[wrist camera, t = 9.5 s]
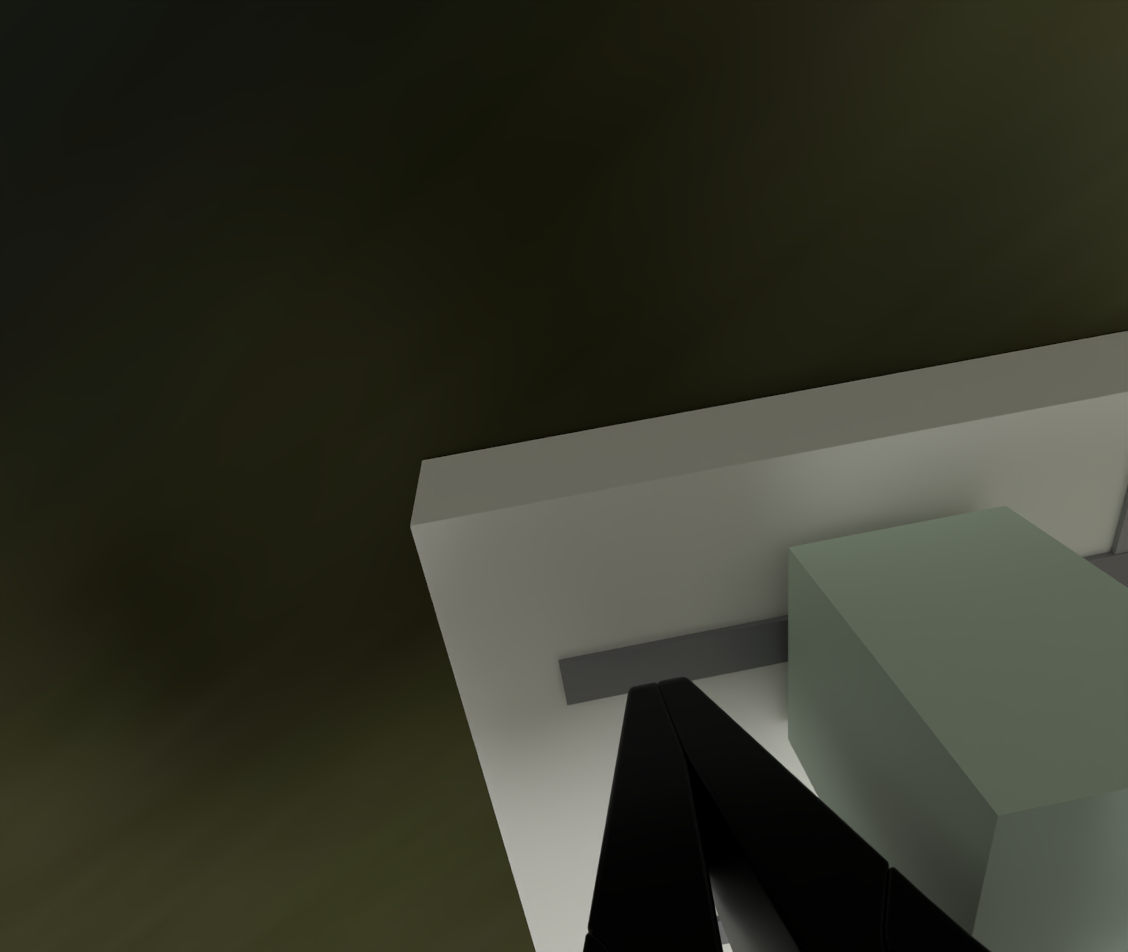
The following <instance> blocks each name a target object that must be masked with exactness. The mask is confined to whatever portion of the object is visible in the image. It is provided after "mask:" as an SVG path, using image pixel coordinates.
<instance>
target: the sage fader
mask: <svg viewBox="0 0 1128 952" xmlns="http://www.w3.org/2000/svg"><path fill="white" fill-rule="evenodd" d="M788 740H789V742H790V744H791V746H792V748H793V750H794V752H795V754H796V755H797V757H798V759H799V761H800V763H801V765H802V767H803V769H804V771H805V773H806V774H807V776H808V778H809V780H810V782H811V784H812V786H813V788H814V790H815V792H816V794H817V795H818V797H819V799H821V800H822V801H823V802H824V803H825V804H826V805H827V806H828V807H829V808H830V809H831V810H833V811H834V812H835V813H836V814H837V815H838V816H839V817H840V818H841V819H842V820H843V821H844V822H846V823H847V824H848V825H849V826H850V827H851V828H852V829H853V830H854V831H855V832H856V833H858V834H859V835H860V836H861V837H862V838H863V839H864V840H865V841H866V842H867V843H868V844H870V845H871V846H872V847H873V848H874V849H875V850H876V851H877V852H878V853H879V854H880V855H882V856H883V857H884V858H885V859H886V860H887V861H888V863H889V868H891V867H895V868H896V869H897V870H898V871H899V872H900V873H902V874H903V875H904V876H905V877H906V878H907V879H908V880H909V881H910V882H911V883H912V884H913V885H915V886H916V887H917V888H918V889H919V890H920V891H921V892H922V893H923V894H924V895H925V896H927V897H928V898H929V899H930V900H931V901H932V902H933V903H935V904H936V905H937V906H938V907H939V908H940V909H941V910H943V911H944V912H945V913H946V914H947V915H948V916H949V917H951V918H952V919H953V920H954V921H955V922H956V923H957V924H959V925H960V926H961V927H962V928H963V929H964V930H965V931H967V932H968V933H969V934H970V935H971V936H972V937H974V938H975V939H976V940H977V941H979V942H980V943H981V944H982V945H984V946H985V947H986V948H988V949H989V950H990V951H991V952H1128V588H1127V587H1126V586H1124V585H1123V584H1121V583H1120V582H1118V581H1117V580H1115V579H1114V578H1113V577H1111V576H1110V575H1108V574H1107V573H1105V572H1104V571H1102V570H1101V569H1099V568H1098V567H1096V566H1095V565H1093V564H1092V563H1090V562H1089V561H1087V560H1086V559H1084V558H1083V557H1081V556H1080V555H1078V554H1077V553H1075V552H1074V551H1072V550H1071V549H1069V548H1068V547H1066V546H1065V545H1063V544H1062V543H1060V542H1059V541H1057V540H1056V539H1054V538H1053V537H1052V536H1050V535H1049V534H1047V533H1046V532H1044V531H1043V530H1041V529H1040V528H1038V527H1037V526H1035V525H1034V524H1032V523H1031V522H1029V521H1028V520H1026V519H1025V518H1023V517H1022V516H1020V515H1019V514H1017V513H1016V512H1014V511H1013V510H1011V509H1010V508H1008V507H1007V506H1001V507H995V508H990V509H985V510H980V511H975V512H969V513H964V514H959V515H954V516H949V517H943V518H938V519H933V520H928V521H923V522H917V523H912V524H907V525H902V526H897V527H891V528H886V529H881V530H876V531H871V532H865V533H860V534H855V535H850V536H845V537H839V538H834V539H829V540H824V541H819V542H813V543H808V544H803V545H798V546H793V547H788Z"/></svg>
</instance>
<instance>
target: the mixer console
mask: <svg viewBox="0 0 1128 952" xmlns="http://www.w3.org/2000/svg"><path fill="white" fill-rule="evenodd" d="M1001 506H1007V507H1008V508H1010V509H1011V510H1013V511H1014V512H1016V513H1017V514H1019V515H1020V516H1022V517H1023V518H1025V519H1026V520H1028V521H1029V522H1031V523H1032V524H1034V525H1035V526H1037V527H1038V528H1040V529H1041V530H1043V531H1044V532H1046V533H1047V534H1049V535H1050V536H1052V537H1053V538H1054V539H1056V540H1057V541H1059V542H1060V543H1062V544H1063V545H1065V546H1066V547H1068V548H1069V549H1071V550H1072V551H1074V552H1075V553H1077V554H1078V555H1080V556H1081V557H1083V558H1084V559H1086V560H1087V561H1089V562H1090V563H1092V564H1093V565H1095V566H1096V567H1098V568H1099V569H1101V570H1102V571H1104V572H1105V573H1107V574H1108V575H1110V576H1111V577H1113V578H1114V579H1115V580H1117V581H1118V582H1120V583H1121V584H1123V585H1124V586H1126V587H1127V588H1128V331H1124V332H1119V333H1113V334H1108V335H1102V336H1097V337H1091V338H1086V339H1081V340H1075V341H1070V342H1064V343H1059V344H1053V345H1048V346H1042V347H1037V348H1032V349H1026V350H1021V351H1015V352H1010V353H1004V354H999V355H993V356H988V357H983V358H977V359H972V360H966V361H961V362H955V363H950V364H945V365H939V366H934V367H928V368H923V369H917V370H912V371H906V372H901V373H896V374H890V375H885V376H879V377H874V378H868V379H863V380H857V381H852V382H847V383H841V384H836V385H830V386H825V387H819V388H814V389H808V390H803V391H798V392H792V393H787V394H781V395H776V396H770V397H765V398H759V399H754V400H749V401H743V402H738V403H732V404H727V405H721V406H716V407H711V408H705V409H700V410H694V411H689V412H683V413H678V414H672V415H667V416H662V417H656V418H651V419H645V420H640V421H634V422H629V423H623V424H618V425H613V426H607V427H602V428H596V429H591V430H585V431H580V432H574V433H569V434H564V435H558V436H553V437H547V438H542V439H536V440H531V441H526V442H520V443H515V444H509V445H504V446H498V447H493V448H487V449H482V450H477V451H471V452H466V453H460V454H455V455H449V456H444V457H438V458H433V459H428V460H422V464H421V470H420V475H419V481H418V486H417V491H416V497H415V502H414V508H413V513H412V518H411V524H410V528H411V531H412V534H413V538H414V541H415V545H416V548H417V551H418V555H419V558H420V561H421V565H422V568H423V572H424V575H425V578H426V582H427V585H428V588H429V592H430V595H431V599H432V602H433V605H434V609H435V612H436V616H437V619H438V622H439V626H440V629H441V632H442V636H443V639H444V643H445V646H446V649H447V653H448V656H449V659H450V663H451V666H452V670H453V673H454V676H455V680H456V683H457V686H458V690H459V693H460V697H461V700H462V703H463V707H464V710H465V714H466V717H467V720H468V724H469V727H470V730H471V734H472V737H473V741H474V744H475V747H476V751H477V754H478V757H479V761H480V764H481V768H482V771H483V774H484V778H485V781H486V784H487V788H488V791H489V795H490V798H491V801H492V805H493V808H494V812H495V815H496V818H497V822H498V825H499V828H500V832H501V835H502V839H503V842H504V845H505V849H506V852H507V855H508V859H509V862H510V866H511V869H512V872H513V876H514V879H515V882H516V886H517V889H518V893H519V896H520V899H521V903H522V906H523V910H524V913H525V916H526V920H527V923H528V926H529V930H530V933H531V937H532V940H533V943H534V947H535V950H536V952H583V948H584V942H585V936H586V934H587V933H588V921H589V915H590V910H591V904H592V898H593V892H594V886H595V881H596V875H597V869H598V863H599V857H600V851H601V846H602V840H603V834H604V828H605V822H606V817H607V811H608V805H609V799H610V793H611V788H612V782H613V776H614V770H615V764H616V759H617V753H618V747H619V741H620V735H621V730H622V724H623V718H624V712H625V706H626V701H627V695H628V691H629V689H630V688H631V687H634V686H638V685H643V684H648V683H653V682H655V683H659V682H660V681H663V680H668V679H672V678H677V677H687V678H688V679H690V680H691V681H692V682H693V683H694V684H695V685H696V686H697V687H698V688H700V689H701V690H702V691H703V692H704V693H705V694H706V695H707V696H708V697H709V698H710V699H712V700H713V701H714V702H715V703H716V704H717V705H718V706H719V707H720V708H721V709H722V710H724V711H725V712H726V713H727V714H728V715H729V716H730V717H731V718H732V719H733V720H734V721H736V722H737V723H738V724H739V725H740V726H741V727H742V728H743V729H744V730H745V731H746V732H747V733H749V734H750V735H751V736H752V737H753V738H754V739H755V740H756V741H757V742H758V743H759V744H761V745H762V746H763V747H764V748H765V749H766V750H767V751H768V752H769V753H770V754H771V755H773V756H774V757H775V758H776V759H777V760H778V761H779V762H780V763H781V764H782V765H783V766H785V767H786V768H787V769H788V770H789V771H790V772H791V773H792V774H793V775H794V776H795V777H797V778H798V779H799V780H800V781H801V782H802V783H803V784H804V785H805V786H806V787H807V788H809V789H810V790H811V791H812V792H813V793H814V794H815V795H816V796H817V797H818V795H817V794H816V792H815V790H814V788H813V786H812V784H811V782H810V780H809V778H808V776H807V774H806V773H805V771H804V769H803V767H802V765H801V763H800V761H799V759H798V757H797V755H796V754H795V752H794V750H793V748H792V746H791V744H790V742H789V740H788V547H793V546H798V545H803V544H808V543H813V542H819V541H824V540H829V539H834V538H839V537H845V536H850V535H855V534H860V533H865V532H871V531H876V530H881V529H886V528H891V527H897V526H902V525H907V524H912V523H917V522H923V521H928V520H933V519H938V518H943V517H949V516H954V515H959V514H964V513H969V512H975V511H980V510H985V509H990V508H995V507H1001ZM818 798H819V797H818ZM715 909H716V908H715ZM716 914H717V920H718V925H719V931H720V936H721V942H722V947H723V952H733V951H732V949H731V946H730V944H729V941H728V938H727V936H726V933H725V931H724V928H723V926H722V923H721V921H720V918H719V915H718V913H717V910H716Z"/></svg>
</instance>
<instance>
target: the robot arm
mask: <svg viewBox="0 0 1128 952" xmlns="http://www.w3.org/2000/svg"><path fill="white" fill-rule="evenodd" d="M715 908H716V909H715ZM716 910H717V913H718V915H719V918H720V921H721V923H722V926H723V928H724V931H725V933H726V936H727V938H728V941H729V944H730V946H731V949H732V951H733V952H991V951H990V950H989V949H988V948H986V947H985V946H984V945H982V944H981V943H980V942H979V941H977V940H976V939H975V938H974V937H972V936H971V935H970V934H969V933H968V932H967V931H965V930H964V929H963V928H962V927H961V926H960V925H959V924H957V923H956V922H955V921H954V920H953V919H952V918H951V917H949V916H948V915H947V914H946V913H945V912H944V911H943V910H941V909H940V908H939V907H938V906H937V905H936V904H935V903H933V902H932V901H931V900H930V899H929V898H928V897H927V896H925V895H924V894H923V893H922V892H921V891H920V890H919V889H918V888H917V887H916V886H915V885H913V884H912V883H911V882H910V881H909V880H908V879H907V878H906V877H905V876H904V875H903V874H902V873H900V872H899V871H898V870H897V869H896V868H895V867H891V868H889V863H888V861H887V860H886V859H885V858H884V857H883V856H882V855H880V854H879V853H878V852H877V851H876V850H875V849H874V848H873V847H872V846H871V845H870V844H868V843H867V842H866V841H865V840H864V839H863V838H862V837H861V836H860V835H859V834H858V833H856V832H855V831H854V830H853V829H852V828H851V827H850V826H849V825H848V824H847V823H846V822H844V821H843V820H842V819H841V818H840V817H839V816H838V815H837V814H836V813H835V812H834V811H833V810H831V809H830V808H829V807H828V806H827V805H826V804H825V803H824V802H823V801H822V800H821V799H819V798H818V797H817V796H816V795H815V794H814V793H813V792H812V791H811V790H810V789H809V788H807V787H806V786H805V785H804V784H803V783H802V782H801V781H800V780H799V779H798V778H797V777H795V776H794V775H793V774H792V773H791V772H790V771H789V770H788V769H787V768H786V767H785V766H783V765H782V764H781V763H780V762H779V761H778V760H777V759H776V758H775V757H774V756H773V755H771V754H770V753H769V752H768V751H767V750H766V749H765V748H764V747H763V746H762V745H761V744H759V743H758V742H757V741H756V740H755V739H754V738H753V737H752V736H751V735H750V734H749V733H747V732H746V731H745V730H744V729H743V728H742V727H741V726H740V725H739V724H738V723H737V722H736V721H734V720H733V719H732V718H731V717H730V716H729V715H728V714H727V713H726V712H725V711H724V710H722V709H721V708H720V707H719V706H718V705H717V704H716V703H715V702H714V701H713V700H712V699H710V698H709V697H708V696H707V695H706V694H705V693H704V692H703V691H702V690H701V689H700V688H698V687H697V686H696V685H695V684H694V683H693V682H692V681H691V680H690V679H688V678H687V677H677V678H672V679H668V680H663V681H660V682H659V683H655V682H653V683H648V684H643V685H638V686H634V687H631V688H630V689H629V691H628V695H627V701H626V706H625V712H624V718H623V724H622V730H621V735H620V741H619V747H618V753H617V759H616V764H615V770H614V776H613V782H612V788H611V793H610V799H609V805H608V811H607V817H606V822H605V828H604V834H603V840H602V846H601V851H600V857H599V863H598V869H597V875H596V881H595V886H594V892H593V898H592V904H591V910H590V915H589V921H588V933H587V934H586V936H585V942H584V948H583V952H723V947H722V942H721V936H720V931H719V925H718V920H717V914H716Z"/></svg>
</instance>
